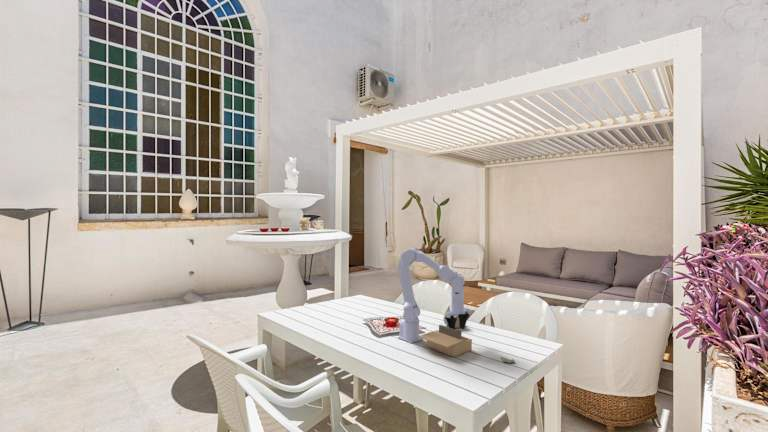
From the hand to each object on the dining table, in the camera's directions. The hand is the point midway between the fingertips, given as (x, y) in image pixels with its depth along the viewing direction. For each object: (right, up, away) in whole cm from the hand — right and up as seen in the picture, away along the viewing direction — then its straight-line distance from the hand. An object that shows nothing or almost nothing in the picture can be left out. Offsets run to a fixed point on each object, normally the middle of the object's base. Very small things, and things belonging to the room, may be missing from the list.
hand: (457, 330), depth 166 cm
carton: (-4, -7, -4) cm, 9 cm away
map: (+19, -8, -10) cm, 23 cm away
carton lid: (-8, -2, -7) cm, 11 cm away
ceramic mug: (+5, -7, +29) cm, 30 cm away
